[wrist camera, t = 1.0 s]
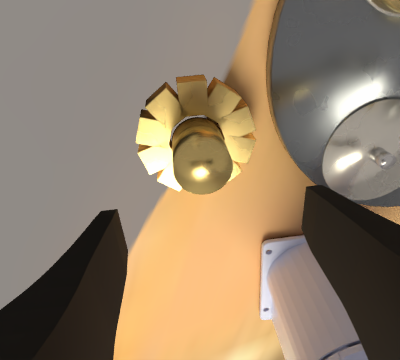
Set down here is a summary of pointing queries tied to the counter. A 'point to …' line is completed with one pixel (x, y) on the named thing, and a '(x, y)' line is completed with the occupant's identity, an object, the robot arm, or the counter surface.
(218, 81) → the planet gear
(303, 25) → the carrier
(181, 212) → the counter surface
